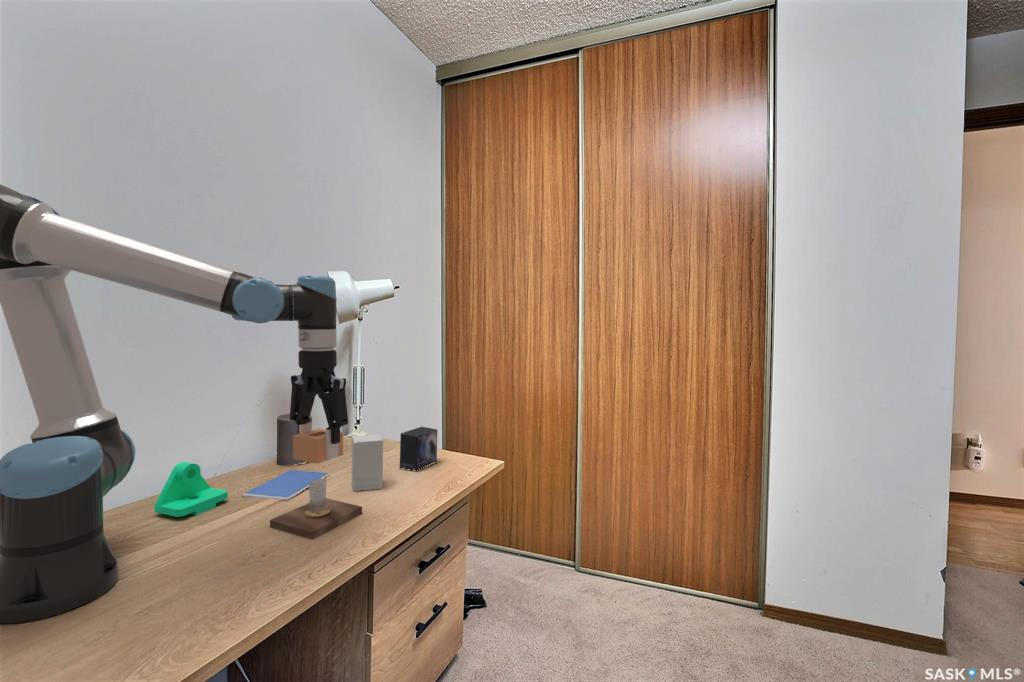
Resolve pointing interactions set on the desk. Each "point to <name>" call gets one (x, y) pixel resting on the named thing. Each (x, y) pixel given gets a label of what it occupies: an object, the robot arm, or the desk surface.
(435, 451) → the small box
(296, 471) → the blue felt tray
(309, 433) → the tan square frame
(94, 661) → the desk surface
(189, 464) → the camera mount
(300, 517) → the base
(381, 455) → the supplement box
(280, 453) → the pillar candle
